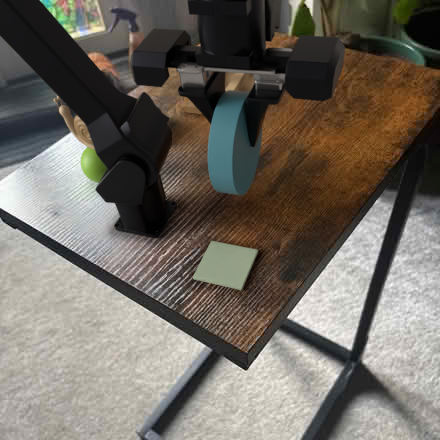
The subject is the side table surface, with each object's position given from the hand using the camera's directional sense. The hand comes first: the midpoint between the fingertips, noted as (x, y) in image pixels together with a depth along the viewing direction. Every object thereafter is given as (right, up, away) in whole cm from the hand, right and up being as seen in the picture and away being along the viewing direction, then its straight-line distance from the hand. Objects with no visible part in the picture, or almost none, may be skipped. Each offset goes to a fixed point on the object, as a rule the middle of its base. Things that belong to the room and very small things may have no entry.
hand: (241, 143), depth 48 cm
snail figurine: (-19, +1, +19) cm, 27 cm away
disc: (-1, -1, -1) cm, 1 cm away
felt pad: (-2, -13, +6) cm, 14 cm away
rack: (-1, +17, +28) cm, 33 cm away
